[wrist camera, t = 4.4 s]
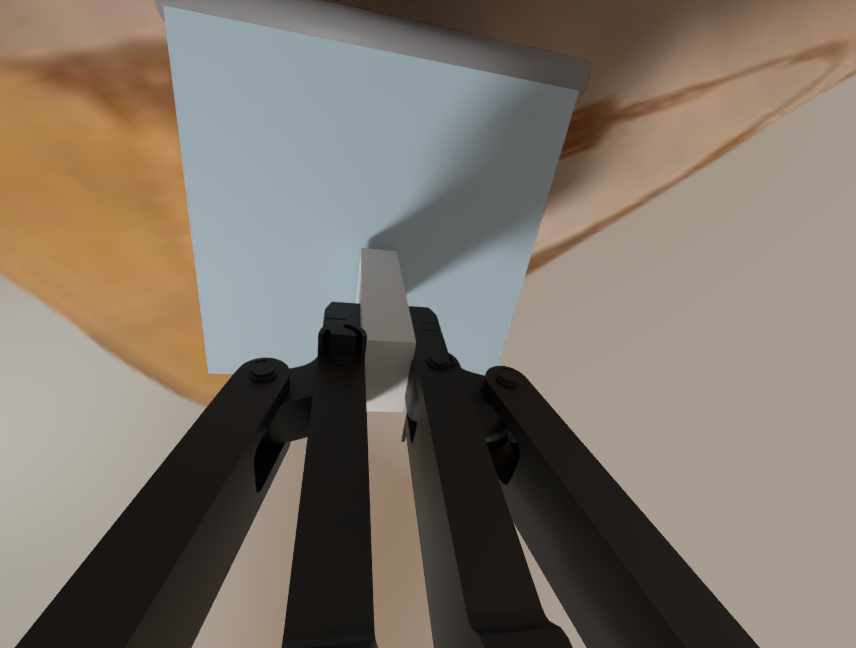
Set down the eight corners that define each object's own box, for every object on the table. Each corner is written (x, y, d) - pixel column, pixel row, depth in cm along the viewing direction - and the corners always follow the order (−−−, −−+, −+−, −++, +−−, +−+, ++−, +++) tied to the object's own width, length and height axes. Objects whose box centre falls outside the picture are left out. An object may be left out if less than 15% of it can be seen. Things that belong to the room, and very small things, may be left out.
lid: (490, 367, 23) (498, 382, 22) (211, 357, 20) (202, 374, 18) (576, 60, 16) (595, 58, 15) (167, -31, 13) (148, -43, 12)
